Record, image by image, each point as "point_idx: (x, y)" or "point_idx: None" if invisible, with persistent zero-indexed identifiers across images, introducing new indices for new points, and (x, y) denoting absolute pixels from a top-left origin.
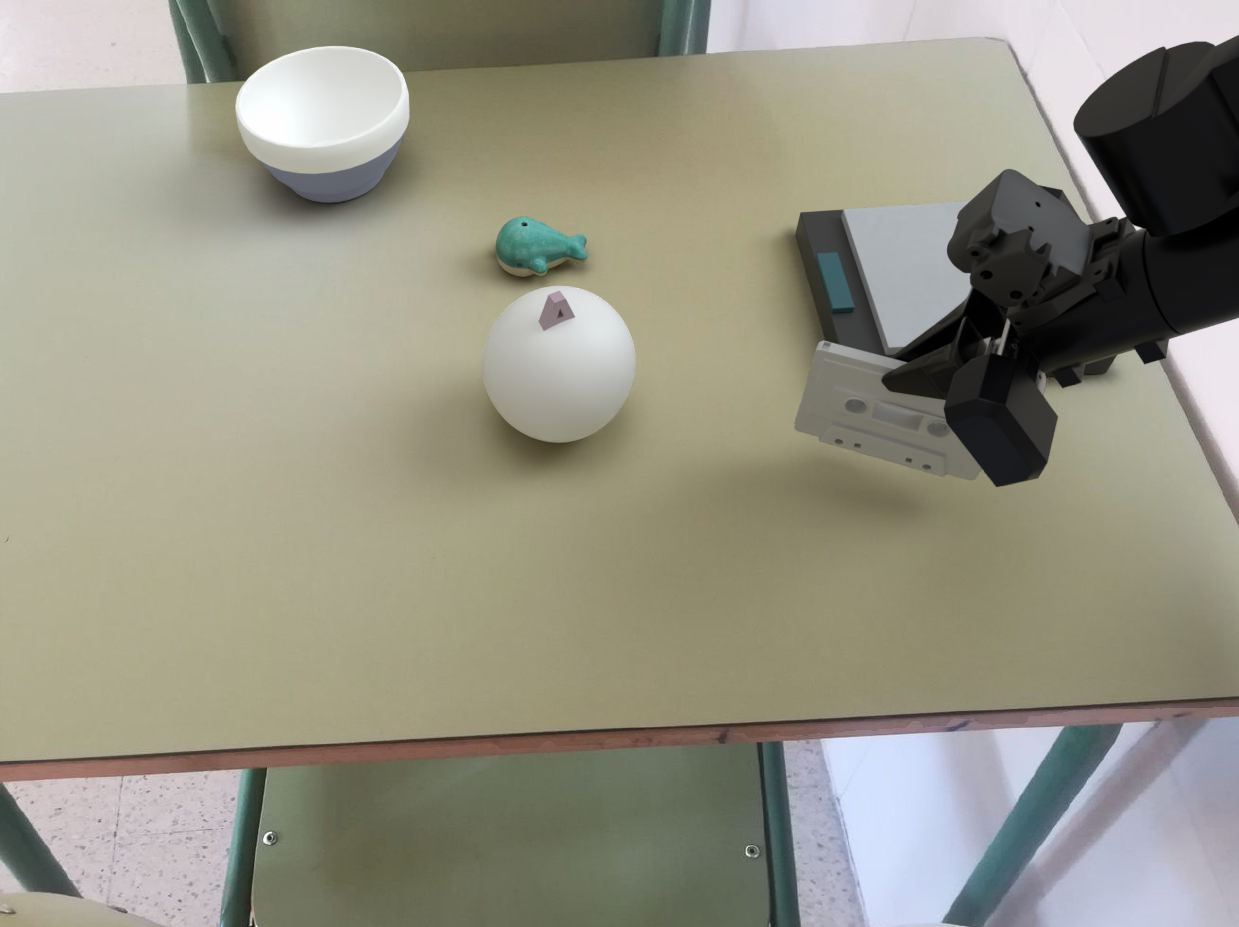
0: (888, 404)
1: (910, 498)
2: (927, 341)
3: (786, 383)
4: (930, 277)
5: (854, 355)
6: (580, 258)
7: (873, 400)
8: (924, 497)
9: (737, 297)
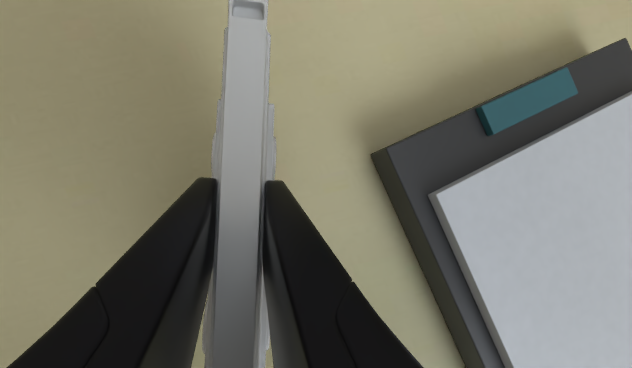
0: None
1: None
2: (281, 273)
3: (357, 89)
4: (578, 221)
5: (237, 86)
6: None
7: None
8: None
9: (472, 5)
